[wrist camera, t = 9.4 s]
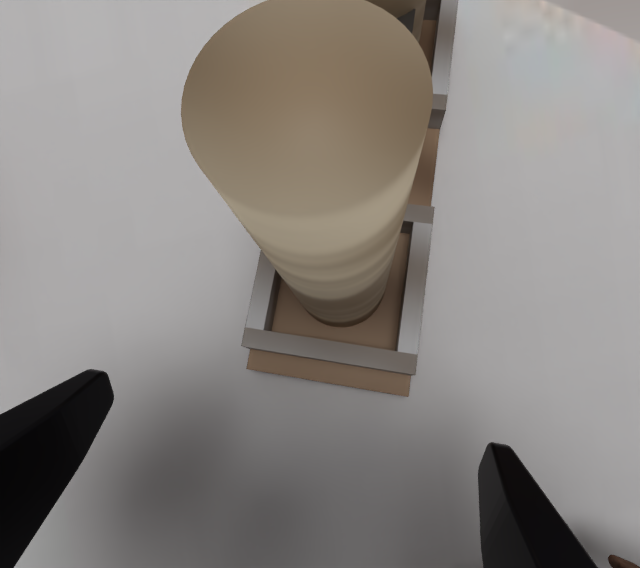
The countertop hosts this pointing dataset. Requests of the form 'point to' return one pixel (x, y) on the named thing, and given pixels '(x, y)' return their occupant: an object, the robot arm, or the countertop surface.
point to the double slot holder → (401, 289)
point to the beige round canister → (314, 141)
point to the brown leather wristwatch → (620, 562)
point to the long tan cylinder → (405, 13)
